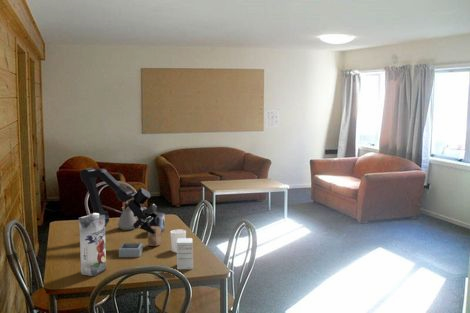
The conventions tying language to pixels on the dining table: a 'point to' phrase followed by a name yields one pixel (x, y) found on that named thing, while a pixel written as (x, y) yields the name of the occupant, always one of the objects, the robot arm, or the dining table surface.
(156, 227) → the tan upright block
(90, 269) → the juice carton
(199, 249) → the dining table surface
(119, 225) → the coffee pot
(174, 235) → the white cup
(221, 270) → the dining table surface
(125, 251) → the open box
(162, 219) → the small box
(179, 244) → the supplement box
